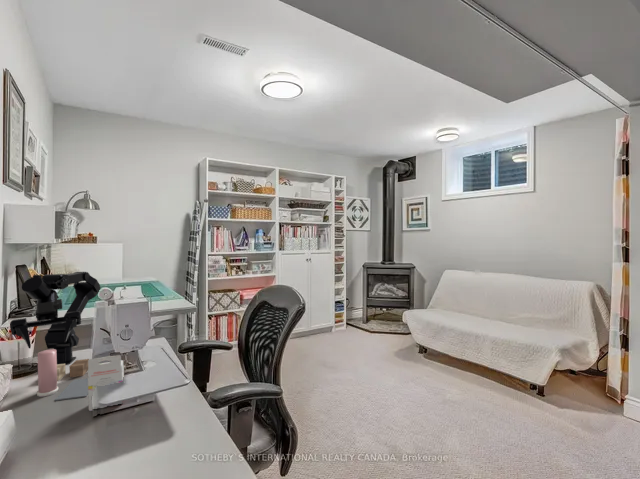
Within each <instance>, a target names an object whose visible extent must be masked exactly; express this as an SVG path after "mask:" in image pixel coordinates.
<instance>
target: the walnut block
mask: <svg viewBox="0 0 640 479" xmlns="http://www.w3.org/2000/svg"><path fill="white" fill-rule="evenodd" d="M89 359H90V358H87V359H86V358H84V359H77V360H76V359H75V360H74V361H73V363H71V364H70V366H69V378H76V377H84V376H85V374H86V373H88V360H89Z"/></svg>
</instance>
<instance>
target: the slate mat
mask: <svg viewBox="0 0 640 479" xmlns="http://www.w3.org/2000/svg"><path fill="white" fill-rule="evenodd" d="M86 397H88V377H87V378H79V379H73V380H72V381H71V382H70V383H69V384H68V385H67V386H66V387H65V389H64V390H63V391H61V392H60V393H59V395H58V396H57V397H56V398H55V399H54V401H55V402H58V401H64V400H72V399H79V398H86Z"/></svg>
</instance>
